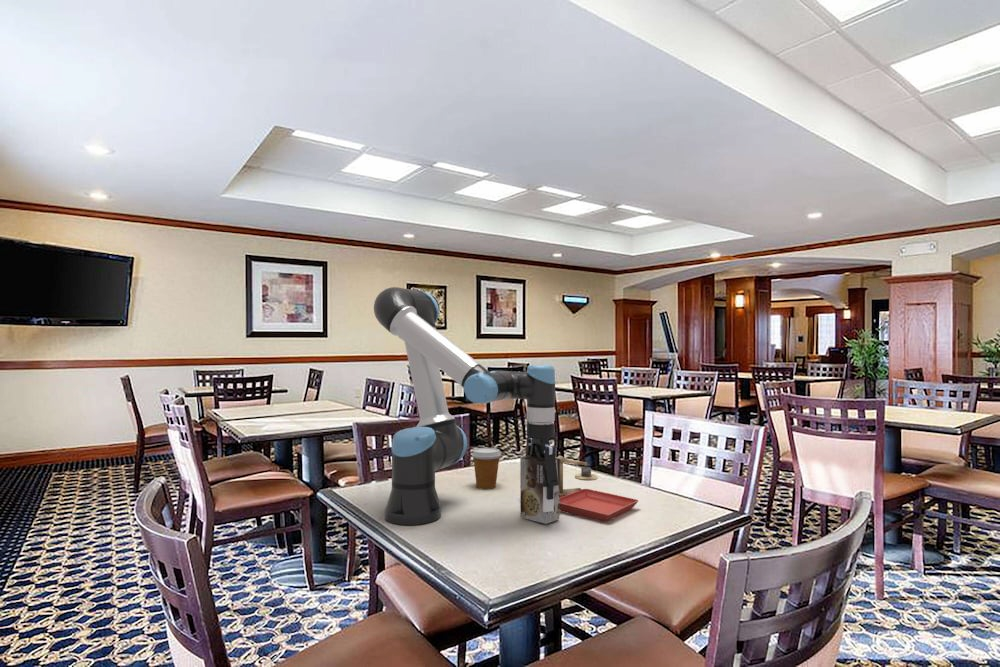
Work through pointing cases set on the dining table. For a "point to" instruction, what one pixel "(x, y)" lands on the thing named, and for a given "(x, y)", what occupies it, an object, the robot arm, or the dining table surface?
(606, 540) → the dining table surface
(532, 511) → the coffee box
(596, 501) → the plant saucer
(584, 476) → the balance
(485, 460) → the disposable coffee cup
